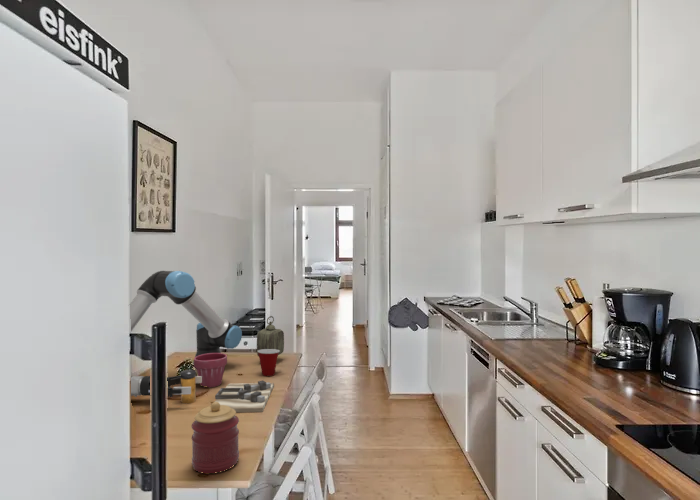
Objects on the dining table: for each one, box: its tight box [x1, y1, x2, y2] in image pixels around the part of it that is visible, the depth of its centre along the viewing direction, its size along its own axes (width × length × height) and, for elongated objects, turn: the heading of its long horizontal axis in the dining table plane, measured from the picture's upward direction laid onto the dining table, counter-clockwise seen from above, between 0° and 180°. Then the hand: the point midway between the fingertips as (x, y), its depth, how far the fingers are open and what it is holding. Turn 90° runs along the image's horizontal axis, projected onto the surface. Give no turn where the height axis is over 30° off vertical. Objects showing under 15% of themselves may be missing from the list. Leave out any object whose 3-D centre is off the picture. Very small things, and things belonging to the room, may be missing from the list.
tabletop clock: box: [256, 315, 285, 358], centre depth 230 cm, size 14×9×25 cm, turn 160°
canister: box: [191, 401, 240, 473], centre depth 122 cm, size 13×13×18 cm
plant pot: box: [193, 352, 228, 389], centre depth 193 cm, size 14×14×13 cm
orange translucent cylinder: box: [179, 369, 197, 405], centre depth 172 cm, size 6×6×12 cm
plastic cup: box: [256, 349, 280, 377], centre depth 208 cm, size 11×11×12 cm
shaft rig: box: [214, 379, 275, 414], centre depth 175 cm, size 30×20×4 cm
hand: (196, 384), depth 172 cm, fingers open, 13 cm apart
